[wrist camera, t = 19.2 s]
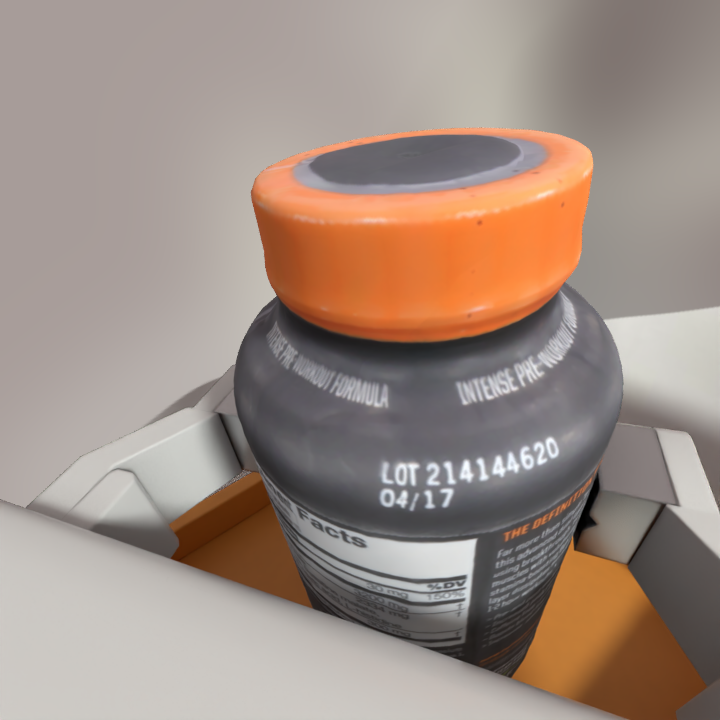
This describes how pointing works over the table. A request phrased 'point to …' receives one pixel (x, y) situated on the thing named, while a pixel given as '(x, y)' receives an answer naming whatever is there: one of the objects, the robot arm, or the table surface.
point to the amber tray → (553, 635)
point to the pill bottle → (429, 380)
